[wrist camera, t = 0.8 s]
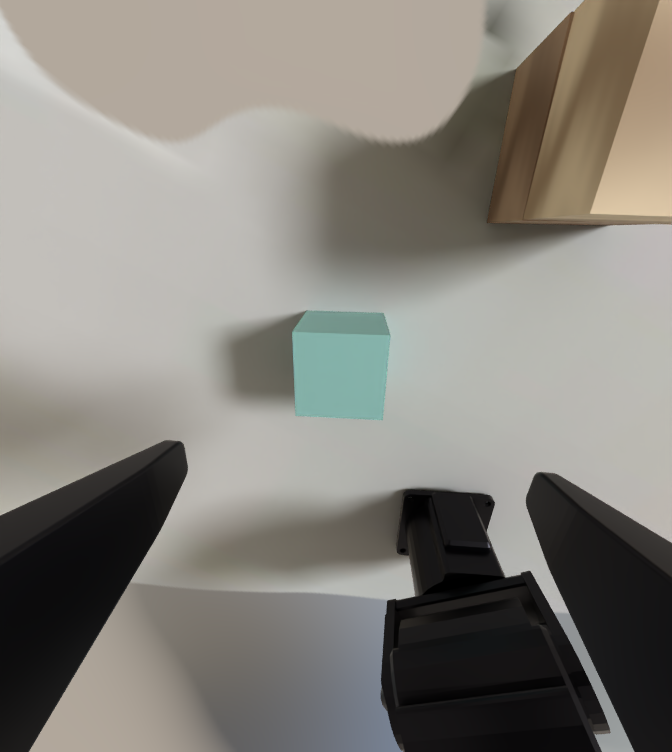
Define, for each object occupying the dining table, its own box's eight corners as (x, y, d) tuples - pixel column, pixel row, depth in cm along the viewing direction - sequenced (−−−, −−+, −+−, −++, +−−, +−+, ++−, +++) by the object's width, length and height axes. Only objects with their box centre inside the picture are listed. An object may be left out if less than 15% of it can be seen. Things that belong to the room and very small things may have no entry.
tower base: (607, 225, 16) (680, 223, 12) (485, 223, 16) (521, 220, 13) (660, 69, 13) (771, 8, 10) (514, 70, 14) (571, 11, 10)
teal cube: (378, 382, 20) (382, 420, 16) (308, 379, 21) (295, 415, 16) (383, 312, 18) (390, 335, 14) (306, 310, 19) (292, 331, 15)
